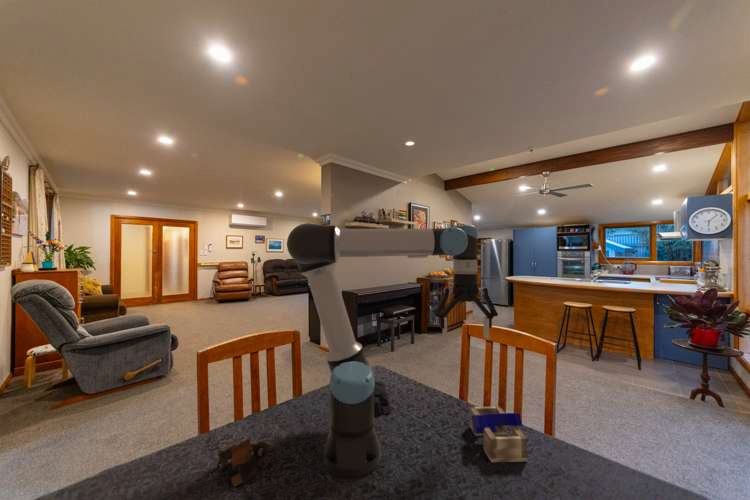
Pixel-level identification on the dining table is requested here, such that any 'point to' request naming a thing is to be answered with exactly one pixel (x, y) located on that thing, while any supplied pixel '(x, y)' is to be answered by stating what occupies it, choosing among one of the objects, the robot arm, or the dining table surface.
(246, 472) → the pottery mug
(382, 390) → the dark slate chunk
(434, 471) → the dining table surface
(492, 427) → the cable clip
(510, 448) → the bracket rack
